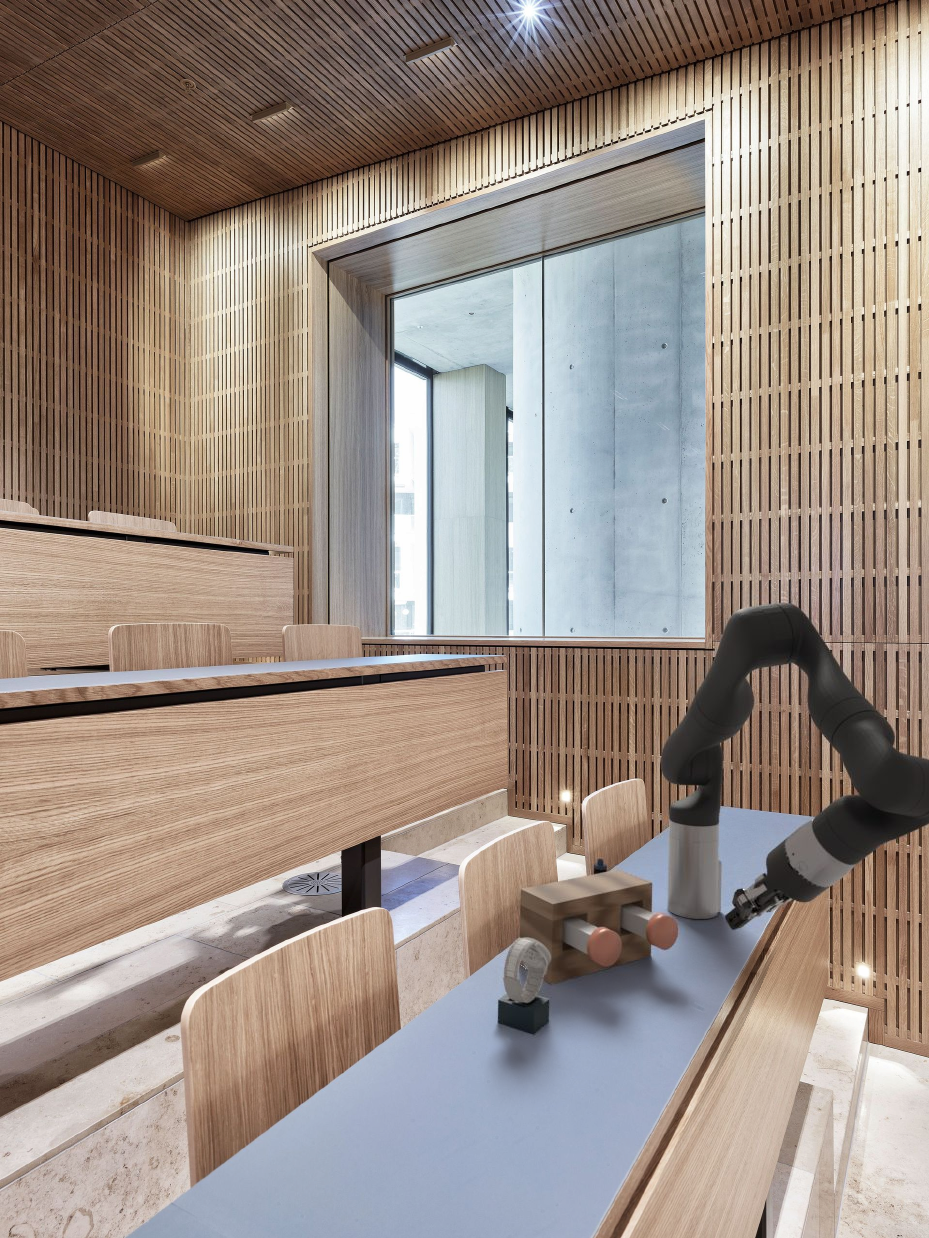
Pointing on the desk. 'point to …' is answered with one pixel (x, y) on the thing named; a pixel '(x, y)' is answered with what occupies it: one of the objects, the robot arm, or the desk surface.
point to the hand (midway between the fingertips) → (731, 922)
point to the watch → (525, 987)
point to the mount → (583, 918)
